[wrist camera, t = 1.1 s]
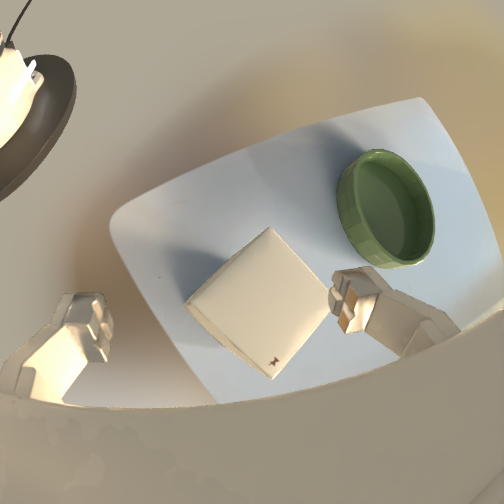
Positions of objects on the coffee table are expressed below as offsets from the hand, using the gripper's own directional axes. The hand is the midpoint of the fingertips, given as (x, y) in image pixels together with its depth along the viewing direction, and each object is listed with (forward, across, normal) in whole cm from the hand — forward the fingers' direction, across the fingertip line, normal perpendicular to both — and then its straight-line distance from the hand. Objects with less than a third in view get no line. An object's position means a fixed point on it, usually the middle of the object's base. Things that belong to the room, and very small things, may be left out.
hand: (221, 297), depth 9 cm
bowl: (+23, -26, +8) cm, 36 cm away
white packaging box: (+15, -2, +14) cm, 20 cm away
